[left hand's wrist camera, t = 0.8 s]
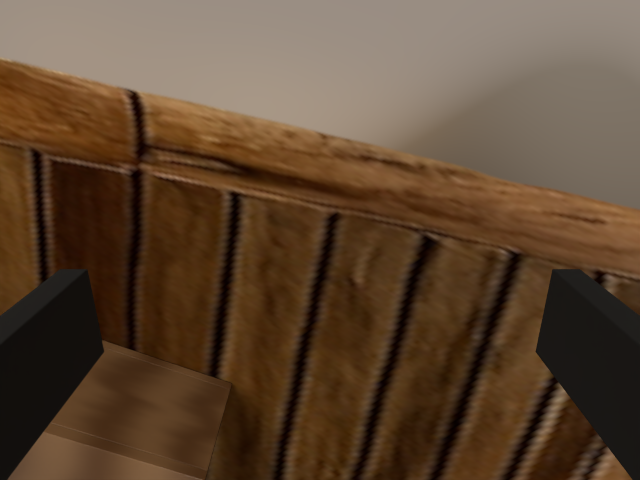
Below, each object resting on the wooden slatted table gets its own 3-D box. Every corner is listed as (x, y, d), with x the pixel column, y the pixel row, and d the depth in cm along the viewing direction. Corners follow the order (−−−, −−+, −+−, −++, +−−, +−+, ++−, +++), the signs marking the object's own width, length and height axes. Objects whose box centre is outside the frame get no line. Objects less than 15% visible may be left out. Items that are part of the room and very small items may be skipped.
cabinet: (41, 402, 47) (-43, 503, 36) (59, 325, 44) (-26, 411, 33) (202, 452, 50) (169, 560, 39) (232, 383, 46) (204, 480, 35)
